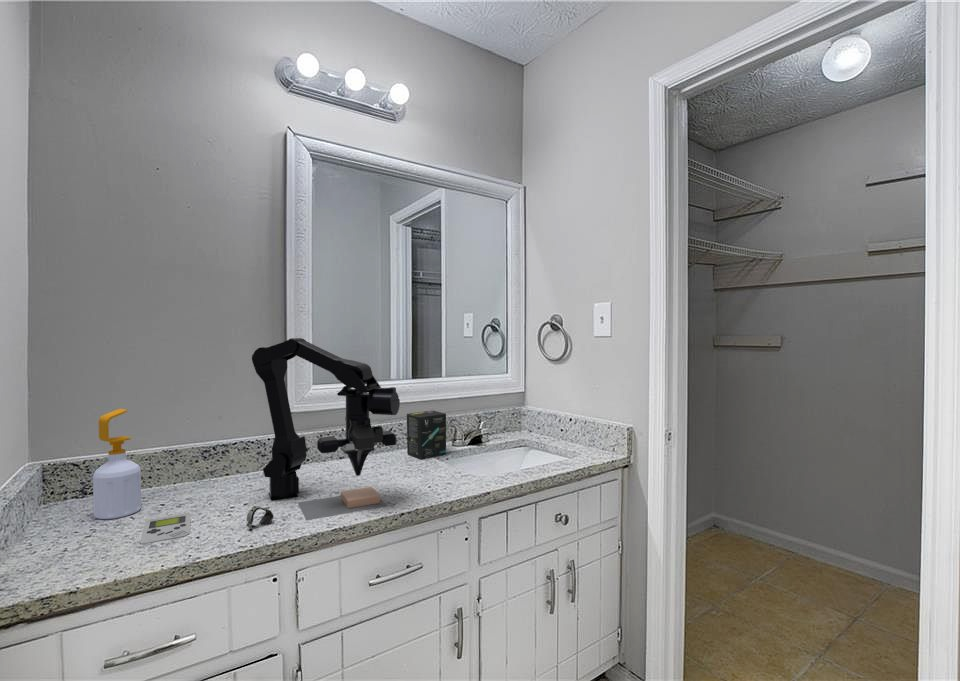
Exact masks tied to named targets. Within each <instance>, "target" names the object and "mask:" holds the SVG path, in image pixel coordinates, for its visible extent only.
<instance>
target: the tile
mask: <svg viewBox="0 0 960 681" xmlns="http://www.w3.org/2000/svg"><path fill="white" fill-rule="evenodd" d="M340 496H341V500H342V501H343V502H344V504H345V505H346V506H347V508H354V507H360V506H365V505H371V504H377V503H380V499H381V495H380V493H379V492H377V490H375V489H374V487H373V486H367V487H360V488H353V489H348V490H341V491H340Z"/></svg>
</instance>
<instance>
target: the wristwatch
mask: <svg viewBox="0 0 960 681" xmlns="http://www.w3.org/2000/svg"><path fill="white" fill-rule="evenodd" d="M259 509H260V510H263V512H265V513H264V515H263V516H261V519H260V520H259V522H258V524H259V525H261V526H264V527H265V526H268V525H271V522H272V521H273V519H274V516H275V515H274V514H273V512H272V511H271V510H270V509H268V508H265V507H262V506H260V505H252V508H250V510H248V512H247V515H246V522H247V523H246V527H247V528H249V529H251V530H254V529H257V528H259V527H258V526H256V525H254V524H253V522H254V515H255V513H257V511H258V510H259Z"/></svg>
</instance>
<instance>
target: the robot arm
mask: <svg viewBox="0 0 960 681" xmlns="http://www.w3.org/2000/svg"><path fill="white" fill-rule="evenodd" d="M295 357H299V358H300V359H303V360H304V361H307V362H308V363H311V364H312V365H315V366H317V367H319V368H321V369H323V370H325V371H327V372H329V373H331V374H332V375H333V376H334V377H335V378H336V380H337V381H339V382H340V383H341V384H343V385H344V386H343V387H342V388H341V390H339V391H338V392H337V393H336V395H337V397H338V396H339V397H345V417H344V419H345V420H344V421H345V433H344V435H345V438H339V439H338V438H337V437H335V436H333V435H332V436H323V437H322V436H321V437H319V438H318V439H317V441H316V444H317V450H318V451H319V453H321V454H330V453H336V452H337V451H338V449H339V448H340V450H341V452H343V453H344V454H345V455H346V456H347V457H348V459H349V460H350V463H351V466H352V469H353V471H354V473H355V474H354V475H355V476H356V477H358V476H359V477H360V476H361V473H362V472H363V471H362V470H363V468H364V464H365V461H366V459H367V457H368V455H369V454H370V453H371V452H373V451H375V450H376V449H375V447H376V444H377V443H381V444H382V445H383V446H385V447H388V446H389V447H390V446H396V445H398V444H397V435H396V434H395V433H394V432H392V431H390V430H384V429H383V427H382V426H381V425H378V426H372V425H371V417H370V413H371V414H372V415H381V416H396V415H398V413H399V410H400V403H401V402H400V398H399V393H398V392H397V388H396V387H393V386H392V387H381V384H380V383H379V382H378V380H377V379H376V378H375V376H374V375H373V371H372V368H371V366H370V365H369V364H367V363H365V362H360V361H356V360H353V359H348V358H347V359H346V358H342V357H340V356H338V355H336V354H334V353H331V352H330V351H328V350H325V349H323V348H321V347H319V346H317V345H315V344H313V343H310V342H309V341H306V340H305V339H304V338H302V337H293V338H292V337H291V338H289V339H287V340H285V341H283V342H279V343H276V344H273V345H271V346H266V347H265V346H263V347H258V348H257V349H255V350H254V352H253V354H252V355H251V361H252V365H253V368H254V371H255V373H256V375H257V376H258V377H259V378H260V379H261V381H262V382H263V384H264V388H265V393H266V394H265V395H266V398H267V399H266V400H267V404H268V407H269V412H270V418H271V423H272V427H273V434H274V439H273V443H272V446H271V460H270V461H269V462H268V463H267V465H265V466H264V468H263V469H262V472H263V475H264V477H265V478H269V492H268V496H269V500H270V502H276V501H282V500H288V499H295V498H298V497H299V495H298V494H299V493H300V479H299V476H298V474H297V471H299V470H300V469H301V467H302V465H303V463H304V461H305V460H306V459H307V456H308V454H307V452H309V449H308V447H307V445H306V438H305V436H299V435H298V433H297V432H296V430H295V426H294V421H293V416H292V412H291V406H290V401H289V396H288V391H287V385H286V382H285V381H286V380H285V377H286V373H287V370H288V361H290V360H291V359H294V358H295Z"/></svg>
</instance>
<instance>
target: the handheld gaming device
mask: <svg viewBox="0 0 960 681" xmlns="http://www.w3.org/2000/svg"><path fill="white" fill-rule="evenodd" d="M191 515H192V514H191V512H183V513H177V514H170V515H165V516H158V517H153V518H148V519H146V520H144V521H145V522H144V526H143V529H142V533H141V537H140V541H139V545H147V544H153V543H159V542H163V541H165V542H166V541H168V540H169V541H170V540H175V539H180V538H184V537H187V536H189V535H190V534H191Z"/></svg>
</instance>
